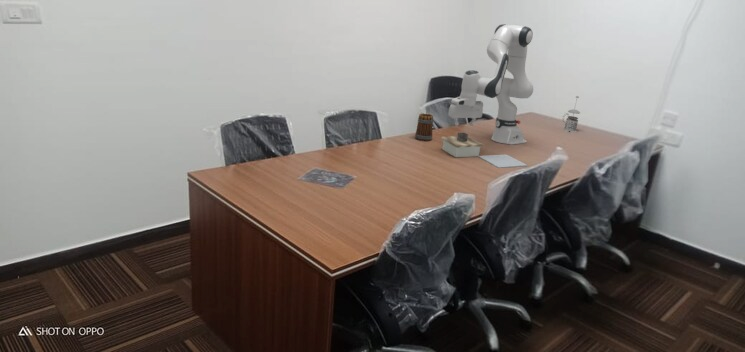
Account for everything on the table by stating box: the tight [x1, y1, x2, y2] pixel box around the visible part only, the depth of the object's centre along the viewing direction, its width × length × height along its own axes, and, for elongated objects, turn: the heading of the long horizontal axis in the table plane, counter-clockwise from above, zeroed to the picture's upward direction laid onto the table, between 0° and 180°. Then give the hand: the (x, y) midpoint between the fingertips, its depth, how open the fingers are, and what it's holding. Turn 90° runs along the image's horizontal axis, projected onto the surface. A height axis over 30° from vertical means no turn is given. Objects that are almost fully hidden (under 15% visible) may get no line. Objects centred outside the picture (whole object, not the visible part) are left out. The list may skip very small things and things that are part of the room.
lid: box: [440, 132, 484, 148], centre depth 281 cm, size 17×17×5 cm
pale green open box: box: [441, 140, 481, 158], centre depth 283 cm, size 15×15×6 cm
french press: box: [562, 95, 581, 133], centre depth 354 cm, size 10×12×25 cm
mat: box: [477, 153, 528, 169], centre depth 275 cm, size 19×19×1 cm
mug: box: [414, 112, 434, 142], centre depth 306 cm, size 16×11×15 cm
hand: (463, 125), depth 278 cm, fingers open, 8 cm apart
